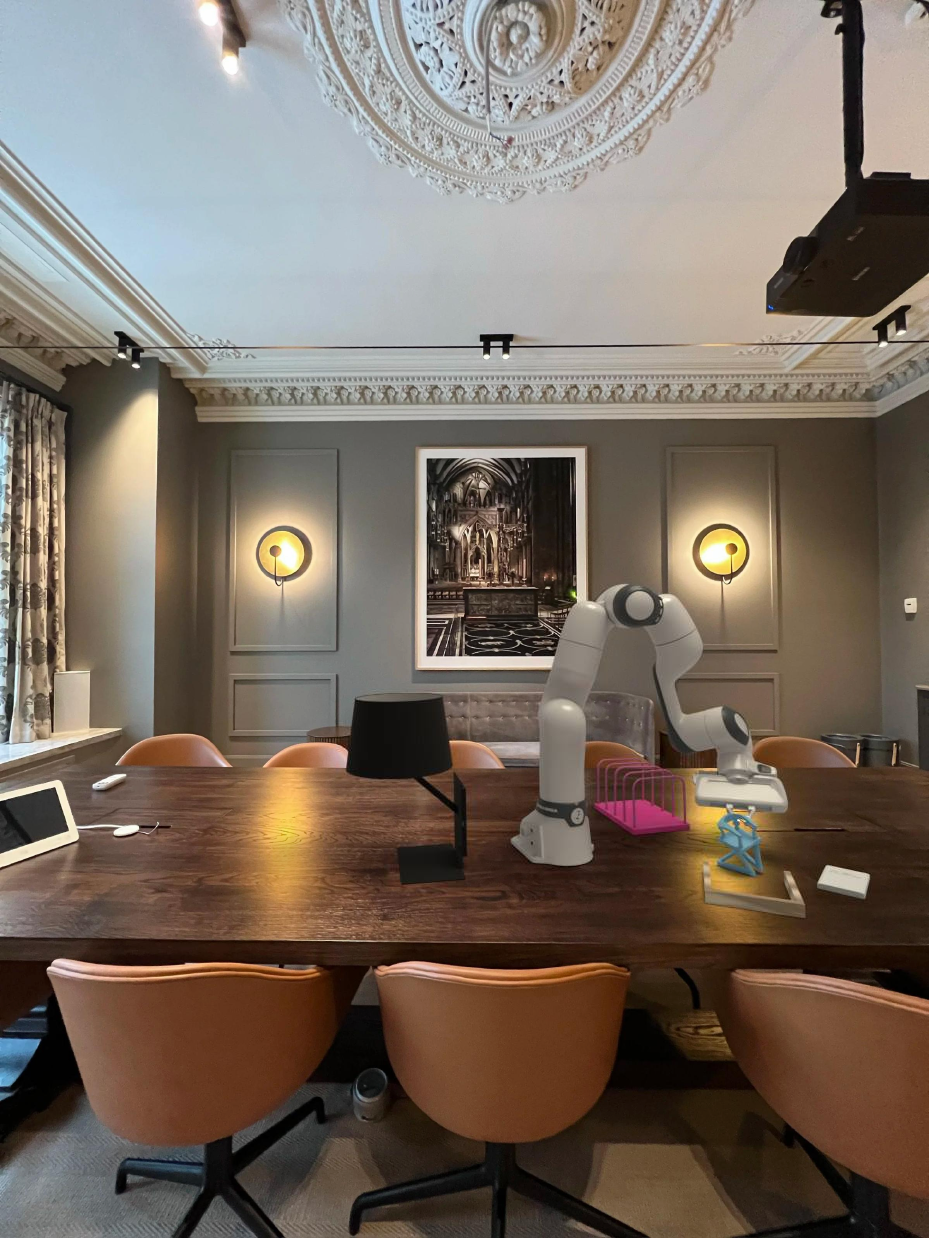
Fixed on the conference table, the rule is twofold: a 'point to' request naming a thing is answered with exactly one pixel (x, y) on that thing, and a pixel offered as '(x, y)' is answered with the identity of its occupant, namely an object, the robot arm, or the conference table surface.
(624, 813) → the file sorter
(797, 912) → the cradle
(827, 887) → the external hard drive
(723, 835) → the chair
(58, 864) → the conference table surface
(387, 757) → the table lamp
